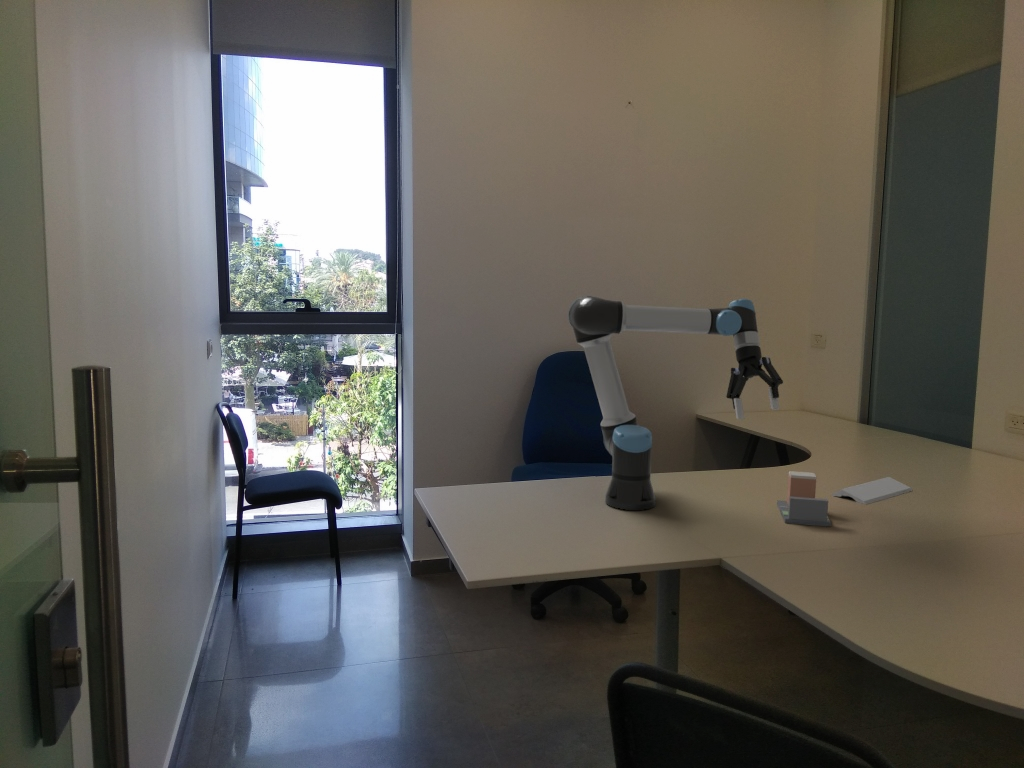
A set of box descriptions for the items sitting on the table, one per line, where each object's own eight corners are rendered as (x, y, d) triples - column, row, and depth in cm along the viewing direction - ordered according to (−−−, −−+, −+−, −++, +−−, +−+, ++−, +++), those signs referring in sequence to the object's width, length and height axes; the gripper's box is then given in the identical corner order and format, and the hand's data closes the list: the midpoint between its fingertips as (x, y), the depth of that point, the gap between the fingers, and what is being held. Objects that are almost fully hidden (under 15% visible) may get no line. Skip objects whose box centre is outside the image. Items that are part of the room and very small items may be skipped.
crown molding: (866, 506, 223) (866, 495, 223) (829, 497, 233) (829, 486, 232) (912, 492, 240) (913, 482, 239) (876, 484, 250) (876, 474, 249)
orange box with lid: (789, 507, 214) (791, 475, 213) (786, 502, 219) (788, 471, 218) (814, 509, 213) (816, 476, 211) (811, 504, 217) (813, 472, 216)
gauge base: (785, 522, 204) (786, 498, 203) (776, 504, 222) (778, 481, 221) (830, 526, 201) (832, 501, 200) (818, 507, 219) (820, 484, 219)
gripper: (788, 337, 217) (799, 406, 212) (726, 360, 238) (735, 423, 232) (771, 334, 213) (782, 404, 208) (709, 357, 234) (718, 421, 229)
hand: (757, 414), depth 220 cm, fingers open, 13 cm apart
